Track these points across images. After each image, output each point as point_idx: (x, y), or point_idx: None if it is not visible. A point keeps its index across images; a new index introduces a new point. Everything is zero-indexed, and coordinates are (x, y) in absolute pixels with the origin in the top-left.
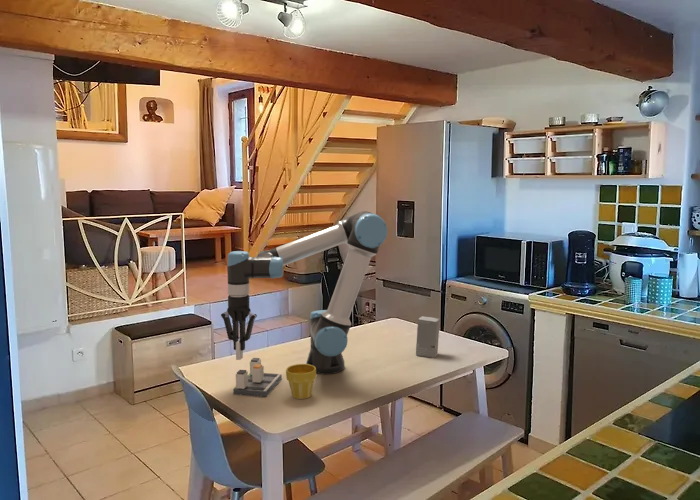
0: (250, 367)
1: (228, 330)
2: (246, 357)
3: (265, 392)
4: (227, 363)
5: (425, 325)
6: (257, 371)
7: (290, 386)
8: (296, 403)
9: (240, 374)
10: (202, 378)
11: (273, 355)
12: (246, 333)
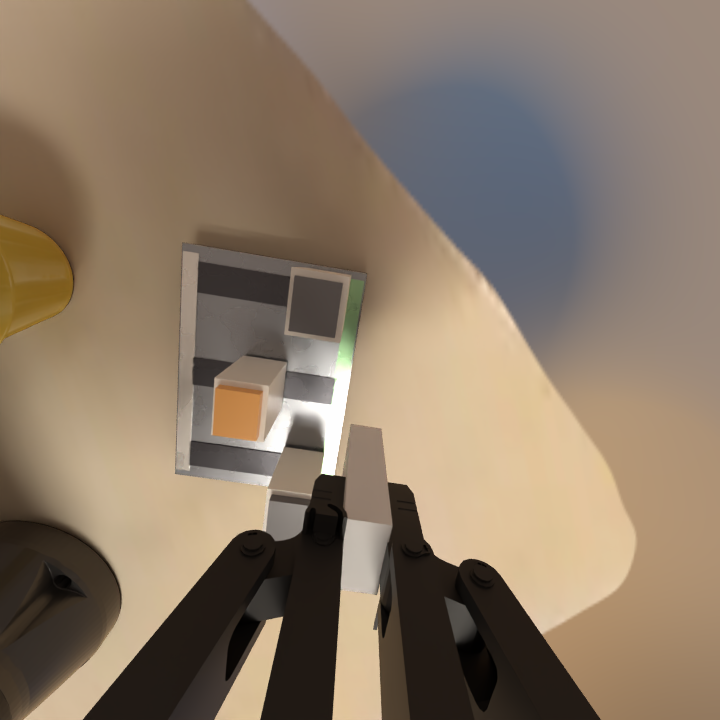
0: (316, 474)
1: (552, 705)
2: None
3: (186, 243)
4: None
5: None
6: (237, 374)
7: (13, 234)
8: (17, 169)
9: (316, 276)
10: (551, 455)
11: None
12: (211, 629)
